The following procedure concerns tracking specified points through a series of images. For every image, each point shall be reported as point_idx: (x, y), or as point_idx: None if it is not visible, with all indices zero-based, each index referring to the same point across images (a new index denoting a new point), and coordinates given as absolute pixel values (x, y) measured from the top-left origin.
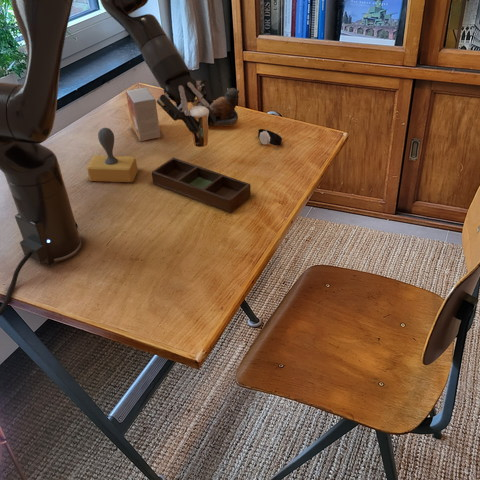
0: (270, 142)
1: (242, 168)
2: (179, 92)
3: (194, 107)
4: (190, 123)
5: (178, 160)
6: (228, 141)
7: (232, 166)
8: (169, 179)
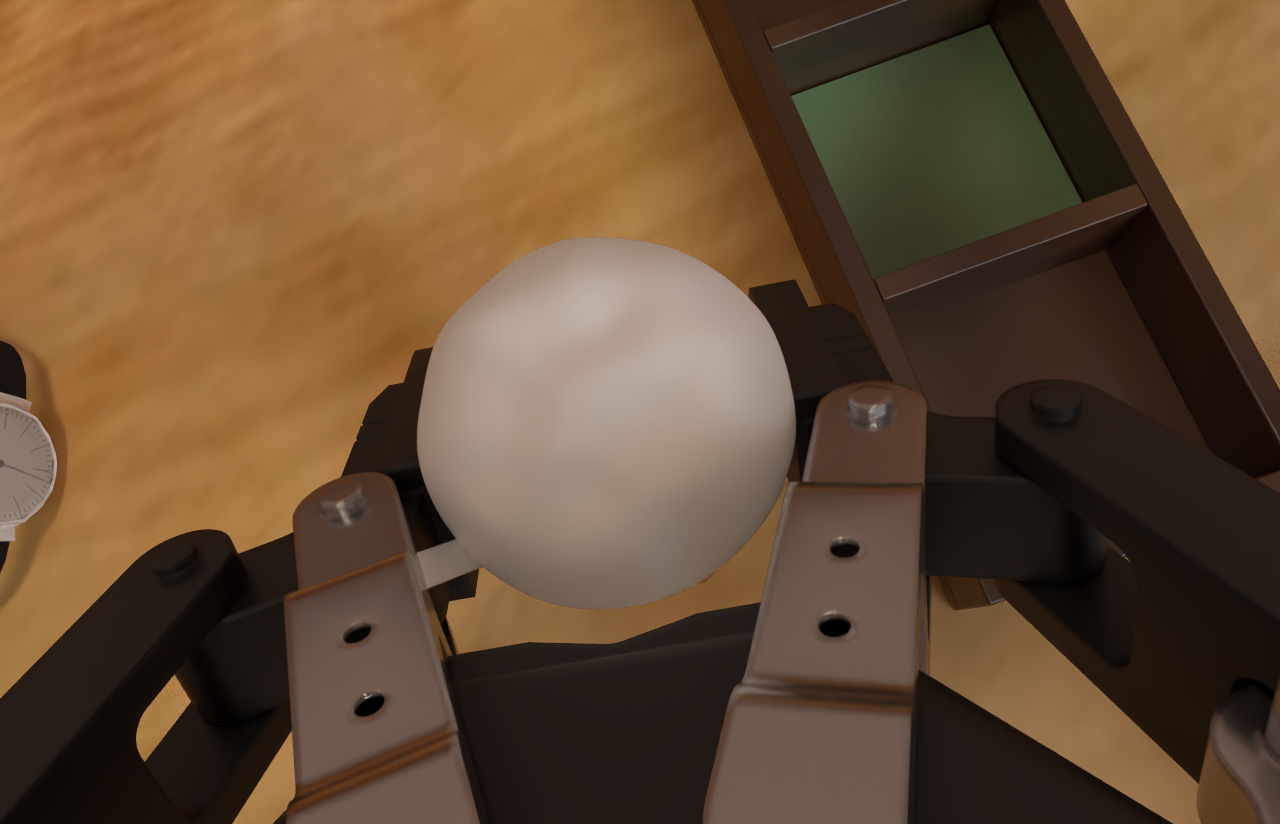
0: (14, 384)
1: (457, 258)
2: (913, 722)
3: (647, 464)
4: (850, 349)
5: None
6: None
7: None
8: (1205, 264)
